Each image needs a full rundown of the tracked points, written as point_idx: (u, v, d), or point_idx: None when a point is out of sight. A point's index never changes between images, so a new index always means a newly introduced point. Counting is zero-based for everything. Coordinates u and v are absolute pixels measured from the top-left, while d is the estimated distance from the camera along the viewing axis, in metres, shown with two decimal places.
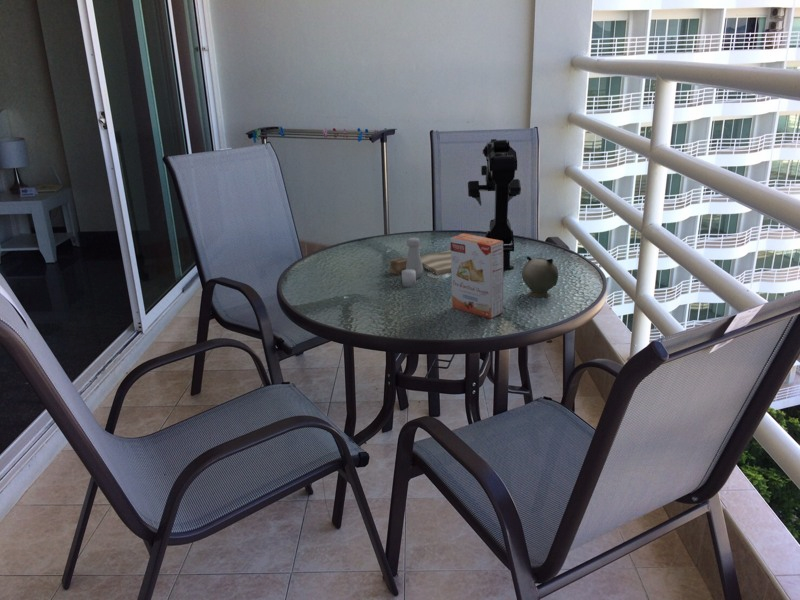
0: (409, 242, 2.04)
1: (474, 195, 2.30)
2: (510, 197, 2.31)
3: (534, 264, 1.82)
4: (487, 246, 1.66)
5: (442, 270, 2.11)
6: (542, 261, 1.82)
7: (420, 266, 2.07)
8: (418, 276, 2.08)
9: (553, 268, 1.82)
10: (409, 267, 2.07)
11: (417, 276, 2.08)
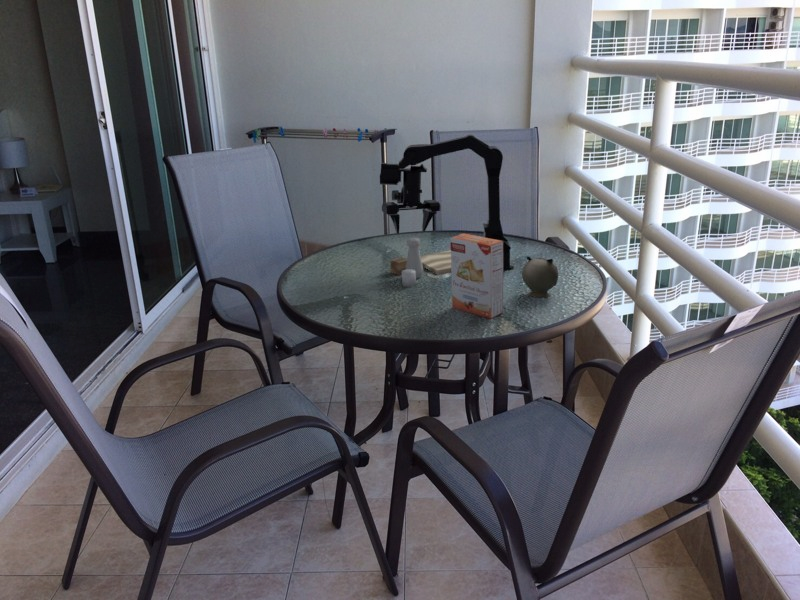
0: (409, 242, 2.04)
1: (393, 212, 2.04)
2: (430, 216, 2.09)
3: (534, 264, 1.82)
4: (487, 246, 1.66)
5: (442, 270, 2.11)
6: (542, 261, 1.82)
7: (420, 266, 2.07)
8: (418, 276, 2.08)
9: (553, 268, 1.82)
10: (409, 267, 2.07)
11: (417, 276, 2.08)
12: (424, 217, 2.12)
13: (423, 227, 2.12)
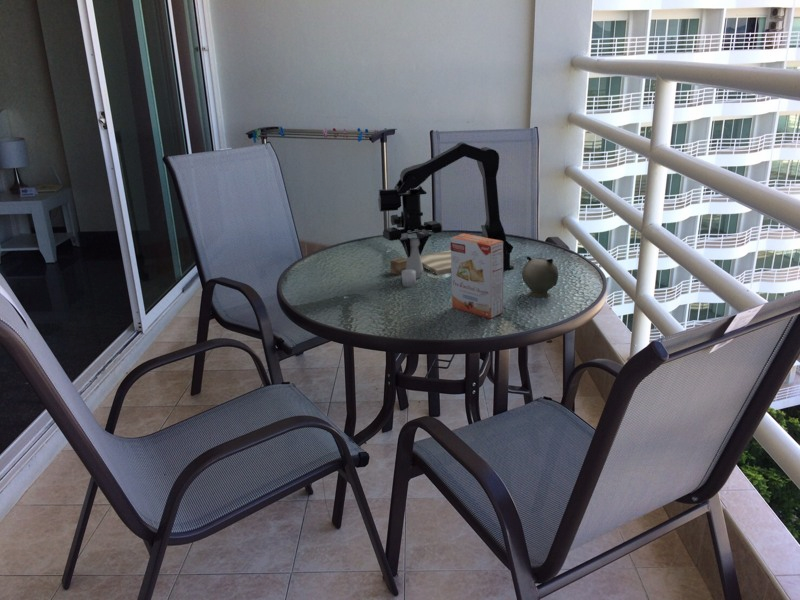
0: None
1: (396, 238, 1.99)
2: (425, 239, 2.04)
3: (534, 264, 1.82)
4: (487, 246, 1.66)
5: (442, 270, 2.11)
6: (542, 261, 1.82)
7: (420, 266, 2.07)
8: (418, 276, 2.08)
9: (553, 268, 1.82)
10: (409, 267, 2.07)
11: (417, 276, 2.08)
12: None
13: (419, 251, 2.07)
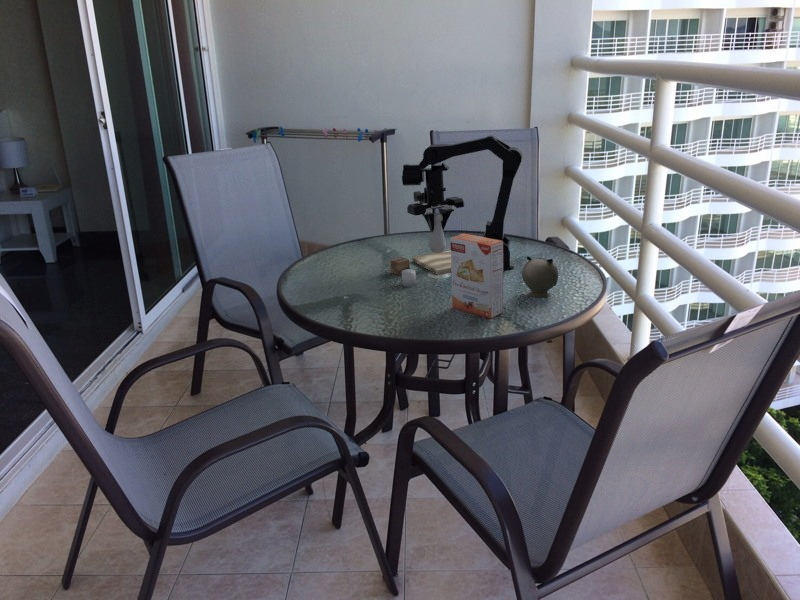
0: None
1: (421, 212, 2.06)
2: (448, 214, 2.11)
3: (534, 264, 1.82)
4: (487, 246, 1.66)
5: (442, 270, 2.11)
6: (542, 261, 1.82)
7: (443, 241, 2.13)
8: (441, 250, 2.14)
9: (553, 268, 1.82)
10: (432, 242, 2.13)
11: (440, 250, 2.14)
12: None
13: None
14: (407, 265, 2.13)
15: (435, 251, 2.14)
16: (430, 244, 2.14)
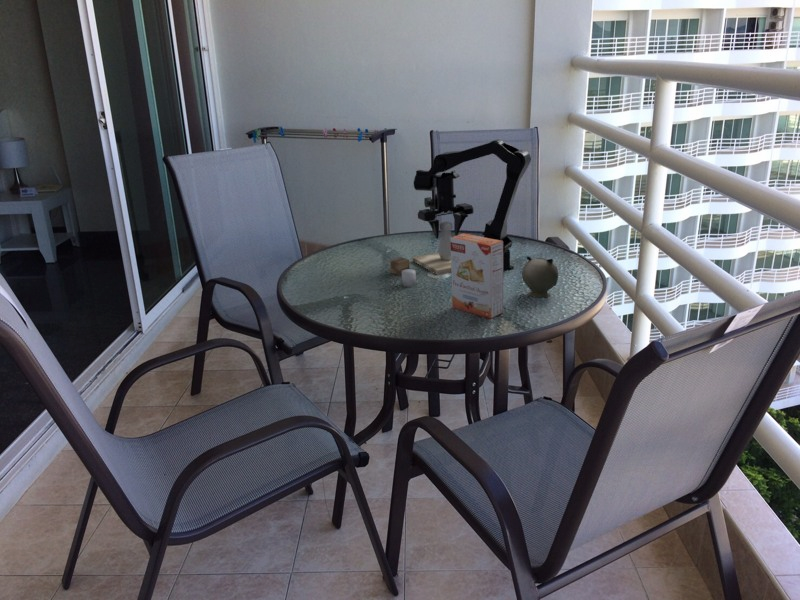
0: (442, 226, 2.16)
1: (431, 218, 2.11)
2: (462, 219, 2.16)
3: (534, 264, 1.82)
4: (487, 246, 1.66)
5: (442, 270, 2.11)
6: (542, 261, 1.82)
7: None
8: (450, 258, 2.19)
9: (553, 268, 1.82)
10: (441, 250, 2.18)
11: (449, 258, 2.19)
12: (456, 221, 2.19)
13: (455, 231, 2.19)
14: (407, 265, 2.13)
15: (444, 259, 2.19)
16: (439, 252, 2.19)
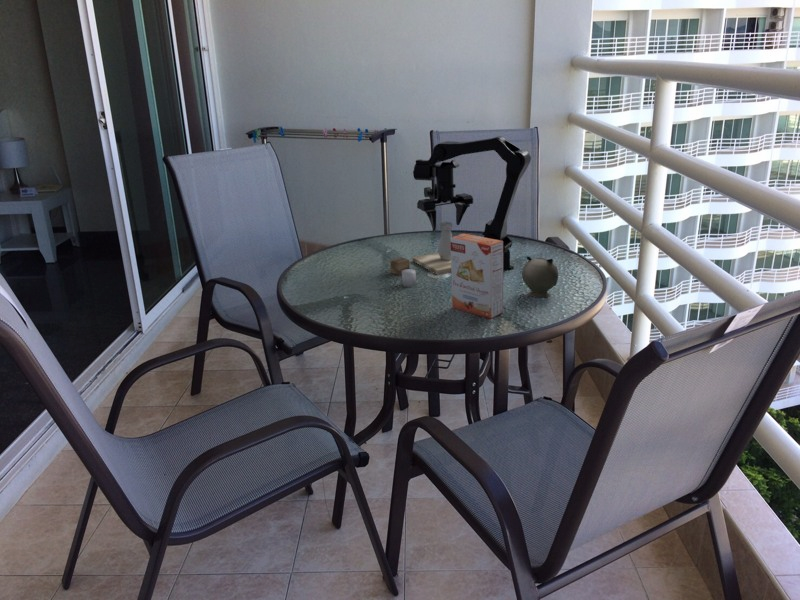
0: (442, 226, 2.16)
1: (430, 208, 2.09)
2: (464, 209, 2.15)
3: (534, 264, 1.82)
4: (487, 246, 1.66)
5: (442, 270, 2.11)
6: (542, 261, 1.82)
7: None
8: (450, 258, 2.19)
9: (553, 268, 1.82)
10: (442, 250, 2.18)
11: (449, 258, 2.19)
12: (457, 211, 2.18)
13: (457, 220, 2.18)
14: (407, 265, 2.13)
15: (444, 259, 2.19)
16: (439, 252, 2.19)
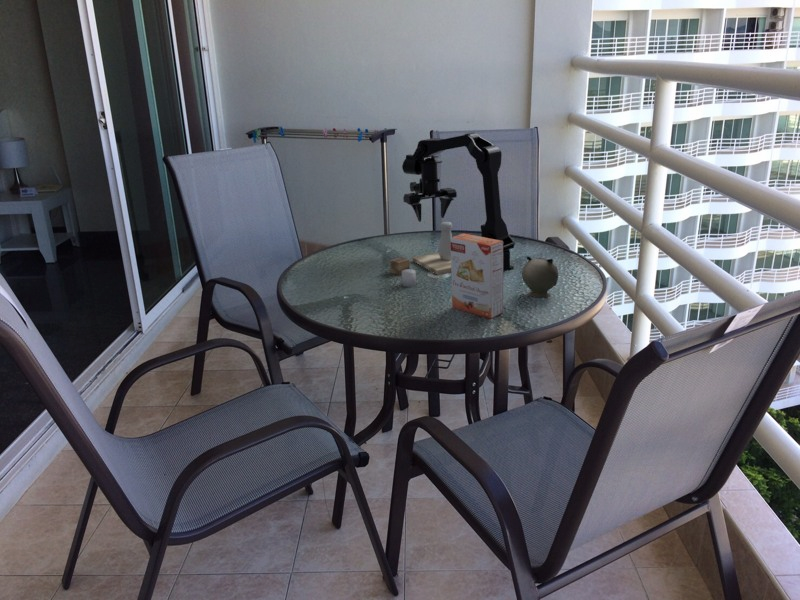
0: (442, 226, 2.16)
1: (416, 201, 2.21)
2: (448, 202, 2.27)
3: (534, 264, 1.82)
4: (487, 246, 1.66)
5: (442, 270, 2.11)
6: (542, 261, 1.82)
7: None
8: (450, 258, 2.19)
9: (553, 268, 1.82)
10: (442, 250, 2.18)
11: (449, 258, 2.19)
12: (442, 204, 2.29)
13: (442, 213, 2.30)
14: (407, 265, 2.13)
15: (444, 259, 2.19)
16: (439, 252, 2.19)
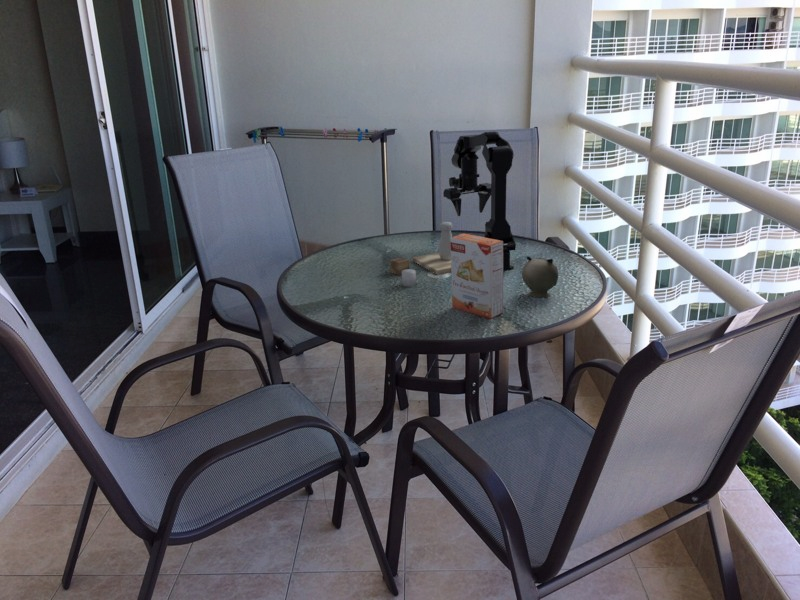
0: (442, 226, 2.16)
1: (456, 196, 2.25)
2: (487, 197, 2.31)
3: (534, 264, 1.82)
4: (487, 246, 1.66)
5: (442, 270, 2.11)
6: (542, 261, 1.82)
7: None
8: (450, 258, 2.19)
9: (553, 268, 1.82)
10: (442, 250, 2.18)
11: (449, 258, 2.19)
12: (480, 199, 2.33)
13: (480, 208, 2.34)
14: (407, 265, 2.13)
15: (444, 259, 2.19)
16: (439, 252, 2.19)
